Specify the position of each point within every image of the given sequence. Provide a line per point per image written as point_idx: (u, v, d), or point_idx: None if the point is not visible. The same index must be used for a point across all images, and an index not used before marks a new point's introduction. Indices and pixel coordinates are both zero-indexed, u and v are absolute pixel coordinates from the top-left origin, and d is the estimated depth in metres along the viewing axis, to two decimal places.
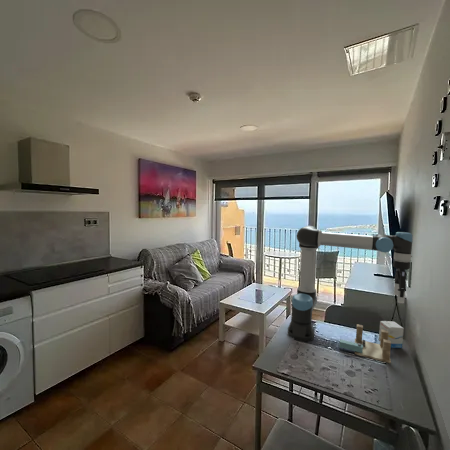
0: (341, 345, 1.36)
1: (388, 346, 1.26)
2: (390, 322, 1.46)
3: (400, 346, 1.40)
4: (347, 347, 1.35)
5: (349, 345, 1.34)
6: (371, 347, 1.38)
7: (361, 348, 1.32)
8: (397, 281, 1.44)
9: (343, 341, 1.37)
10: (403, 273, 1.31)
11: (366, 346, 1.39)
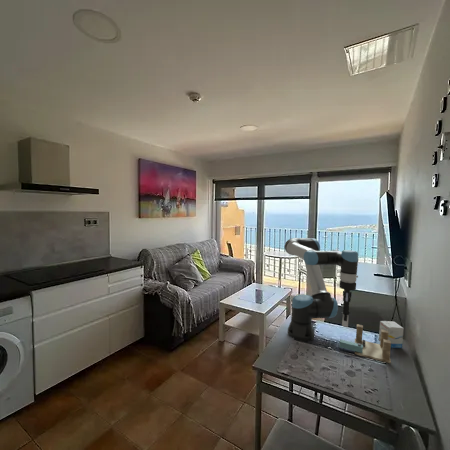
0: (341, 345, 1.36)
1: (388, 346, 1.26)
2: (390, 322, 1.46)
3: (400, 346, 1.40)
4: (347, 347, 1.35)
5: (349, 345, 1.34)
6: (371, 347, 1.38)
7: (361, 348, 1.32)
8: None
9: (343, 341, 1.37)
10: (346, 300, 1.23)
11: (366, 346, 1.39)
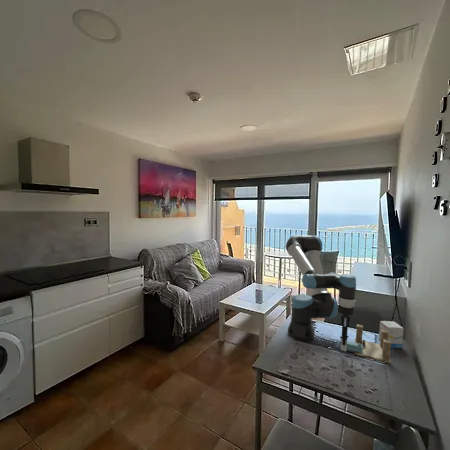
0: None
1: (388, 346, 1.26)
2: (390, 322, 1.46)
3: (400, 346, 1.40)
4: (347, 347, 1.35)
5: (349, 345, 1.34)
6: (371, 347, 1.38)
7: (361, 348, 1.32)
8: None
9: None
10: (344, 325, 1.24)
11: (366, 346, 1.39)
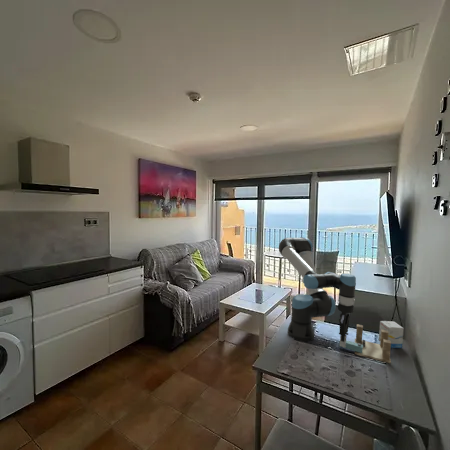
0: None
1: (388, 346, 1.26)
2: (390, 322, 1.46)
3: (400, 346, 1.40)
4: (347, 347, 1.35)
5: (348, 344, 1.35)
6: (371, 347, 1.38)
7: (361, 348, 1.32)
8: None
9: None
10: (341, 321, 1.30)
11: (366, 346, 1.39)
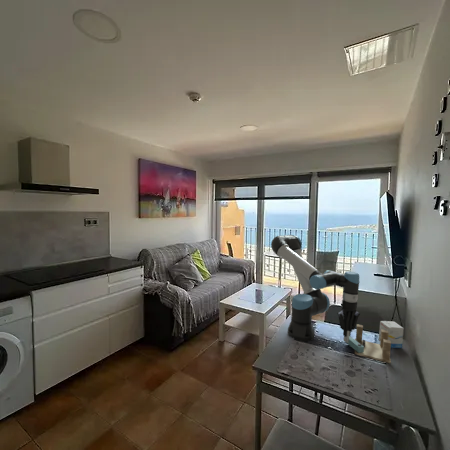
0: None
1: (388, 346, 1.26)
2: (390, 322, 1.46)
3: (400, 346, 1.40)
4: (349, 343, 1.39)
5: (350, 341, 1.38)
6: (371, 347, 1.38)
7: (358, 347, 1.32)
8: (348, 326, 1.41)
9: (349, 337, 1.41)
10: (338, 314, 1.38)
11: (366, 346, 1.39)
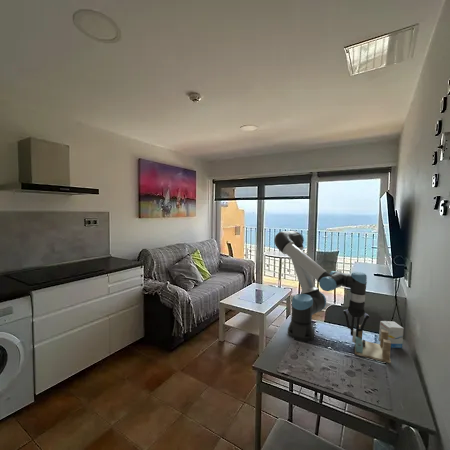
0: (355, 340, 1.42)
1: (388, 346, 1.26)
2: (390, 322, 1.46)
3: (400, 346, 1.40)
4: (355, 343, 1.39)
5: (355, 341, 1.39)
6: (371, 347, 1.38)
7: (356, 346, 1.33)
8: None
9: (358, 338, 1.40)
10: None
11: (366, 346, 1.39)
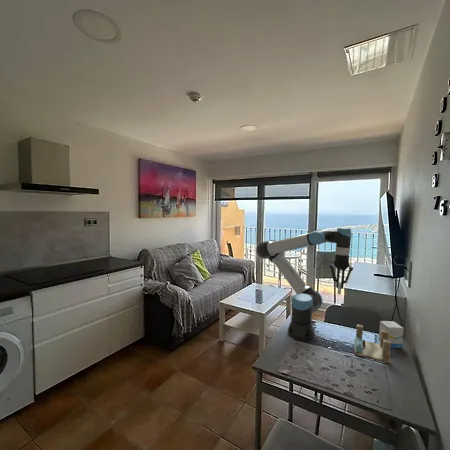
0: (355, 340, 1.42)
1: (388, 346, 1.26)
2: (390, 322, 1.46)
3: (400, 346, 1.40)
4: (355, 343, 1.39)
5: (355, 341, 1.39)
6: (371, 347, 1.38)
7: (356, 346, 1.33)
8: None
9: (358, 338, 1.40)
10: None
11: (366, 346, 1.39)
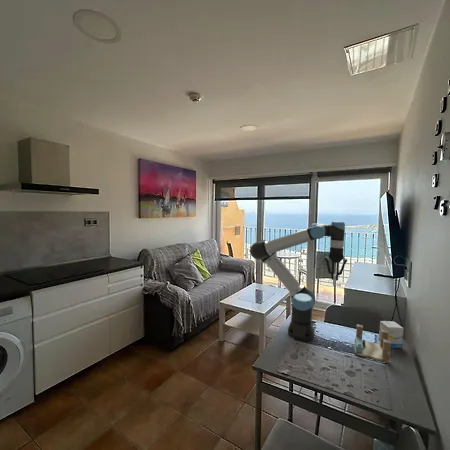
0: (355, 340, 1.42)
1: (388, 346, 1.26)
2: (390, 322, 1.46)
3: (400, 346, 1.40)
4: (355, 343, 1.39)
5: (355, 341, 1.39)
6: (371, 347, 1.38)
7: (356, 346, 1.33)
8: None
9: (358, 338, 1.40)
10: (325, 258, 1.56)
11: (366, 346, 1.39)
